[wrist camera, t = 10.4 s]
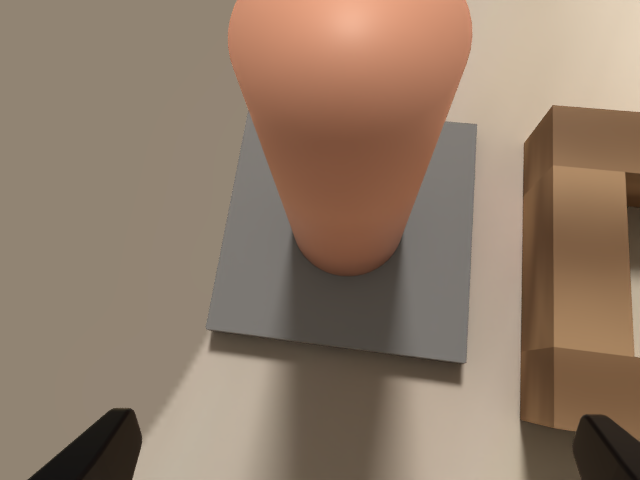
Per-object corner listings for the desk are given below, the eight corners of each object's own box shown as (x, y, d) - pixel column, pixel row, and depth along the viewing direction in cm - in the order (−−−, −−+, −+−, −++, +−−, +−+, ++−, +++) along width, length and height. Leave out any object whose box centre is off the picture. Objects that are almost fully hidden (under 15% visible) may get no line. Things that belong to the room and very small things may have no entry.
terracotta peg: (418, 258, 19) (510, 96, 8) (308, 289, 18) (258, 165, 8) (383, 160, 20) (424, -90, 9) (281, 188, 20) (206, -32, 9)
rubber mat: (461, 363, 18) (466, 363, 17) (211, 330, 19) (205, 328, 18) (472, 133, 21) (477, 124, 20) (252, 114, 22) (249, 104, 21)
